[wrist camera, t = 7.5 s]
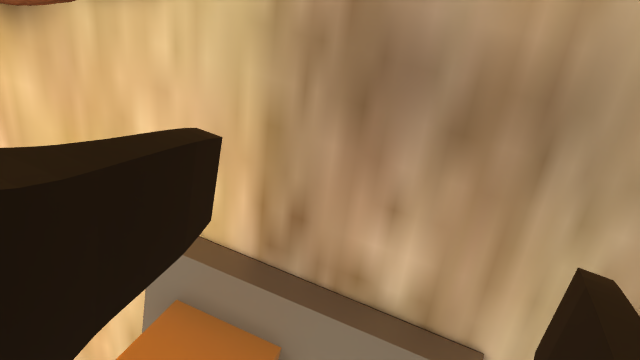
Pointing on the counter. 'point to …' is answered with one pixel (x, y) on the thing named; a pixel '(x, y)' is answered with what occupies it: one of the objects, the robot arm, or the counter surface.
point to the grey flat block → (289, 311)
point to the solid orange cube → (197, 339)
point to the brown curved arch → (33, 2)
